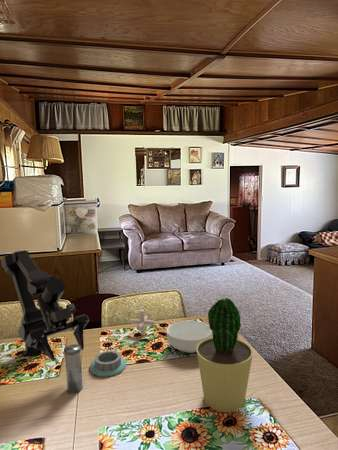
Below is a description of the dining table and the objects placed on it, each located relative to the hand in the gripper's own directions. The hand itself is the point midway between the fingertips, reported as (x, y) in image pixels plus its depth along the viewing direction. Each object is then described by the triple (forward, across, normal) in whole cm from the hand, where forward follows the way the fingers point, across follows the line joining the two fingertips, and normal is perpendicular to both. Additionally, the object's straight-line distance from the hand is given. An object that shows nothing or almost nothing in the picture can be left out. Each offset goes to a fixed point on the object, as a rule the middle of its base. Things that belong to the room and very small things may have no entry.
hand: (69, 354), depth 101 cm
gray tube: (+9, 0, +5) cm, 10 cm away
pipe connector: (-1, +37, +15) cm, 40 cm away
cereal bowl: (+14, +42, +1) cm, 45 cm away
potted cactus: (+33, +28, -18) cm, 47 cm away
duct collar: (+6, +14, +8) cm, 17 cm away
